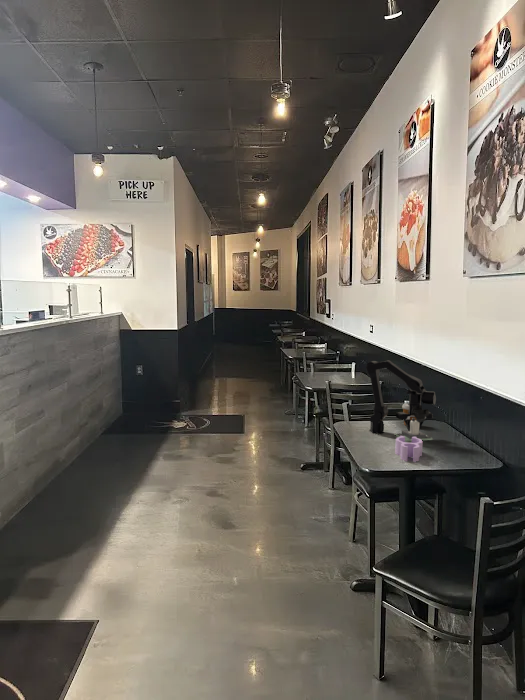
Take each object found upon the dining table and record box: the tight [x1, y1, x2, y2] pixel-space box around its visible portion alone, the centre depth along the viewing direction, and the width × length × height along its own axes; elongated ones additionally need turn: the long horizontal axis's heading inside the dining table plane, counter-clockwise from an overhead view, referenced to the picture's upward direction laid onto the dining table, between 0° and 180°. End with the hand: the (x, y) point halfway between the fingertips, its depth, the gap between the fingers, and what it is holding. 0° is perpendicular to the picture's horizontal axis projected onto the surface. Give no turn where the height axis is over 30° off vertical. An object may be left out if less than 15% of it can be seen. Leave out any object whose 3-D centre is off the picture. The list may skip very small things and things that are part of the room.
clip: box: [394, 436, 424, 463], centre depth 257 cm, size 20×12×7 cm, turn 168°
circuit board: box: [394, 432, 434, 442], centre depth 289 cm, size 16×12×1 cm
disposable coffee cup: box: [401, 402, 417, 426], centre depth 316 cm, size 10×10×12 cm
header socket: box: [401, 429, 427, 439], centre depth 289 cm, size 9×10×2 cm
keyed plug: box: [408, 418, 420, 435], centre depth 288 cm, size 4×6×10 cm, turn 12°
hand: (413, 431), depth 289 cm, fingers open, 5 cm apart
